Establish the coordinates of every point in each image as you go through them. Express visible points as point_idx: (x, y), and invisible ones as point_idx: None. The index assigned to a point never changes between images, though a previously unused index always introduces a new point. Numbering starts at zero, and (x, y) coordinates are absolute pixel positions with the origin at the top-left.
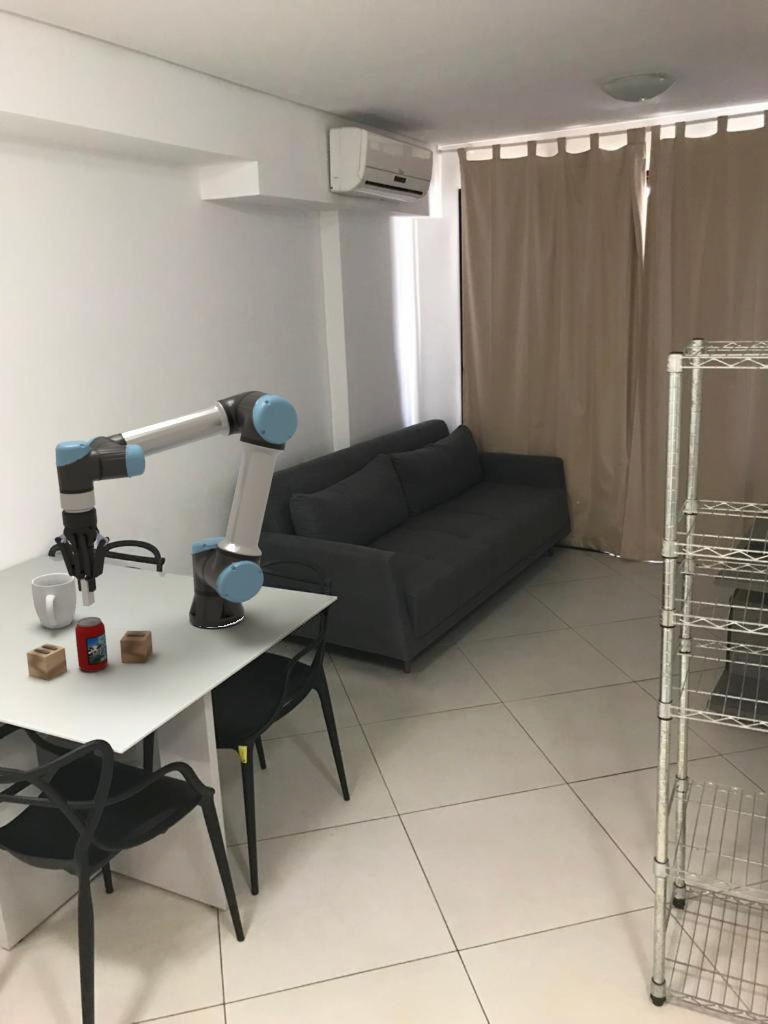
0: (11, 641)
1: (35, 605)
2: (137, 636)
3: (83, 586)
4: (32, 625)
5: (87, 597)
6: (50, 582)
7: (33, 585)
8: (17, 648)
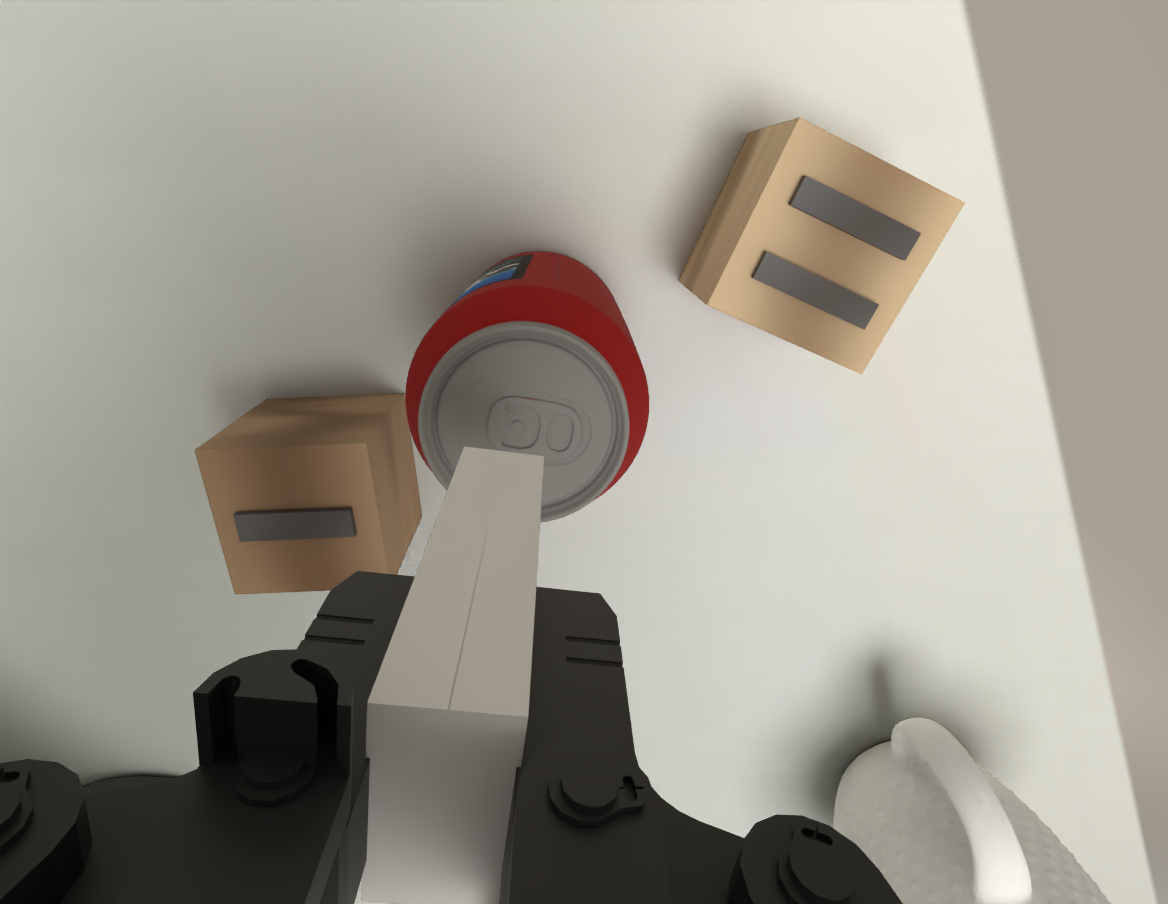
0: (1077, 606)
1: (1062, 844)
2: (278, 509)
3: (483, 611)
4: (1012, 764)
5: (453, 497)
6: None
7: None
8: (1029, 534)
